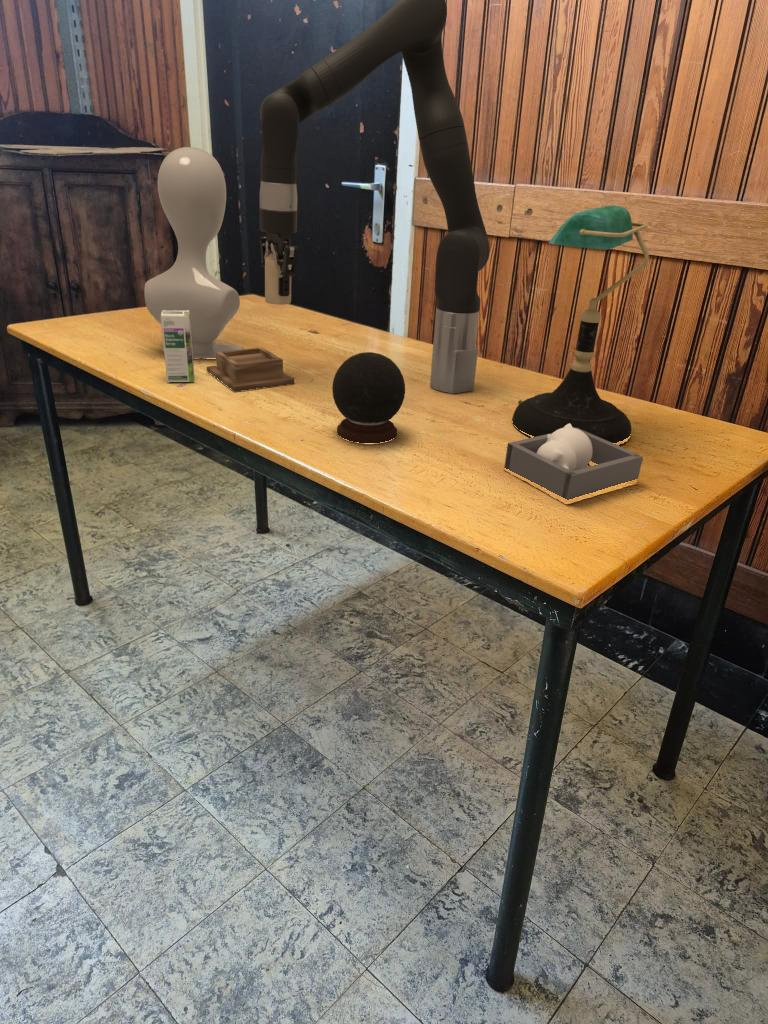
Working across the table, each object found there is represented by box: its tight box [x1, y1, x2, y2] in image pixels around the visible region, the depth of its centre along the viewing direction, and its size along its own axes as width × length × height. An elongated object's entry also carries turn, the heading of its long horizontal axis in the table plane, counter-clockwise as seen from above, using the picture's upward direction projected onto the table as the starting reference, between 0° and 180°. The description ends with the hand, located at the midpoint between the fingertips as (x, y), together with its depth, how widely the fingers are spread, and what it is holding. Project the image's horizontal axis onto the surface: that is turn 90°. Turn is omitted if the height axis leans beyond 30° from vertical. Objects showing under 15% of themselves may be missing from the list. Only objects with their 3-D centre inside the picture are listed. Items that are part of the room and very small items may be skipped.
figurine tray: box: [503, 428, 644, 500], centre depth 116 cm, size 14×16×5 cm
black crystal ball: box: [331, 351, 406, 443], centre depth 127 cm, size 13×13×15 cm
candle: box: [264, 253, 292, 306], centre depth 148 cm, size 6×6×10 cm
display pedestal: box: [206, 346, 295, 392], centre depth 155 cm, size 16×14×5 cm
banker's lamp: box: [511, 204, 650, 443], centre depth 129 cm, size 26×23×40 cm
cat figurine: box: [537, 423, 593, 471], centre depth 117 cm, size 9×11×12 cm
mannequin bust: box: [143, 146, 243, 360], centre depth 163 cm, size 22×20×45 cm
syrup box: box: [160, 310, 195, 383], centre depth 150 cm, size 6×6×14 cm
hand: (277, 292), depth 150 cm, fingers closed on candle, 5 cm apart
